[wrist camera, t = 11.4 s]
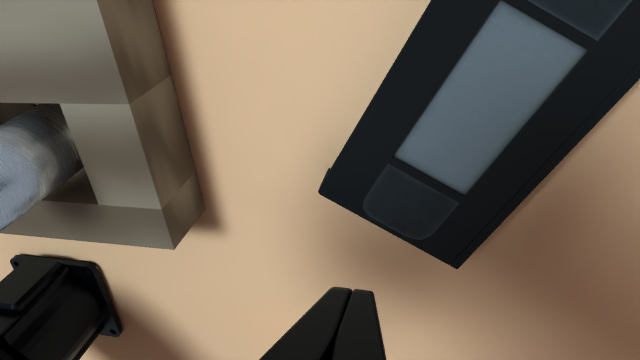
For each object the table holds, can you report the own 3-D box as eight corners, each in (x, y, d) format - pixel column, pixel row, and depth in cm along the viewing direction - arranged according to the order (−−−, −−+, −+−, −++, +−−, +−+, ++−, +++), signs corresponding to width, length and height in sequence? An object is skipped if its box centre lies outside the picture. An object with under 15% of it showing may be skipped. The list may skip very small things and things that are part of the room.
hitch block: (205, 209, 27) (174, 249, 24) (25, 196, 30) (-22, 231, 27) (58, -367, 15) (-35, -423, 12) (-209, -295, 18) (-334, -326, 15)
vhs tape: (326, 171, 24) (316, 192, 22) (512, -143, 16) (517, -145, 14) (457, 242, 24) (457, 269, 23) (704, -29, 16) (731, -18, 15)
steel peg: (122, 154, 26) (6, 249, 19) (66, 152, 27) (-63, 242, 20) (100, 90, 24) (-36, 171, 18) (41, 90, 25) (-110, 167, 18)
